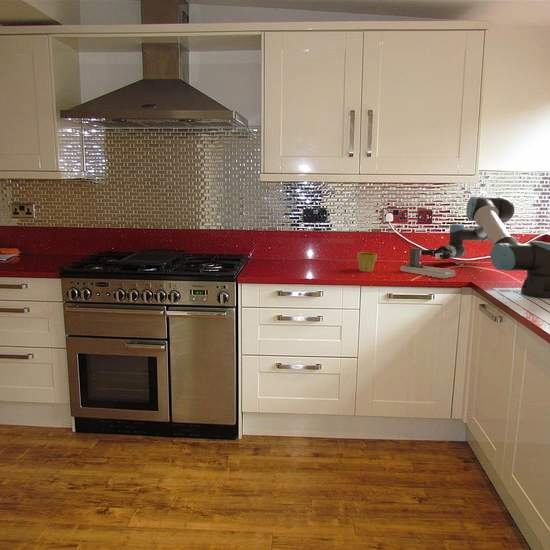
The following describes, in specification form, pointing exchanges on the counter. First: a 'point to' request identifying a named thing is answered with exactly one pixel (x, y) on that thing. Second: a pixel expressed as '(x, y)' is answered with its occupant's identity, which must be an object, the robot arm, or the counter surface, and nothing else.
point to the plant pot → (366, 261)
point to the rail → (430, 271)
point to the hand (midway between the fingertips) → (424, 255)
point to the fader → (414, 258)
